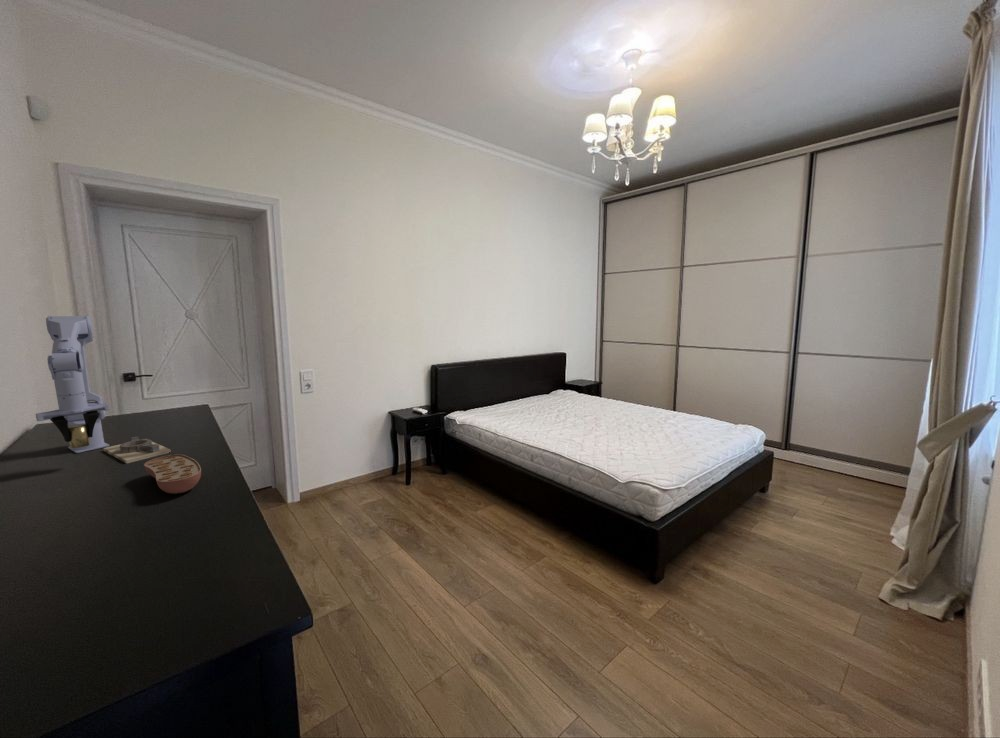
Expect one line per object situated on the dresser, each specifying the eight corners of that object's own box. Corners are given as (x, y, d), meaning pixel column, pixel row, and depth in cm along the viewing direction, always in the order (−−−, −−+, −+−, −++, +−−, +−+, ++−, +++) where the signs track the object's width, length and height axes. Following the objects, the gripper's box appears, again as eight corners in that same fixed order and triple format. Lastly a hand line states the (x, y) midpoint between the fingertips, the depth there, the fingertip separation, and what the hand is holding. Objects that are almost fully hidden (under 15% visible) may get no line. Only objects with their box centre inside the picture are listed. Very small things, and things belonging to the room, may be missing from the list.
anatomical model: (143, 478, 111) (140, 461, 110) (187, 467, 119) (185, 451, 118) (162, 504, 97) (160, 484, 96) (211, 489, 104) (209, 471, 104)
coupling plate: (103, 451, 131) (102, 442, 130) (146, 441, 140) (145, 433, 140) (126, 463, 121) (125, 454, 120) (170, 452, 130) (169, 443, 130)
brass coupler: (68, 446, 117) (65, 426, 116) (87, 442, 120) (84, 423, 119) (72, 449, 115) (69, 429, 114) (91, 445, 118) (88, 425, 117)
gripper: (37, 400, 107) (46, 448, 109) (109, 390, 119) (116, 434, 121) (30, 397, 110) (39, 444, 113) (101, 388, 123) (108, 430, 125)
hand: (78, 438), depth 117 cm, fingers closed on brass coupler, 4 cm apart
